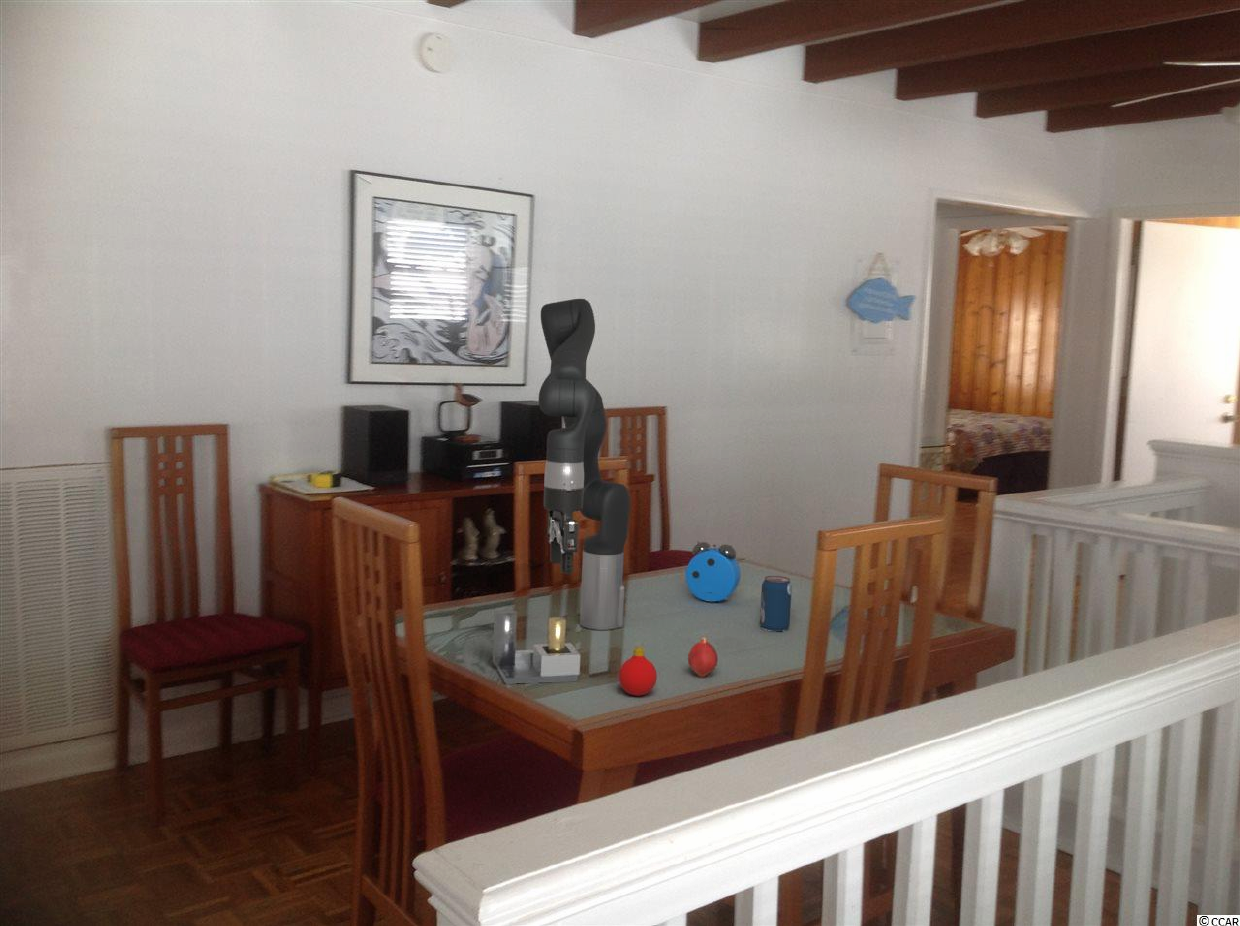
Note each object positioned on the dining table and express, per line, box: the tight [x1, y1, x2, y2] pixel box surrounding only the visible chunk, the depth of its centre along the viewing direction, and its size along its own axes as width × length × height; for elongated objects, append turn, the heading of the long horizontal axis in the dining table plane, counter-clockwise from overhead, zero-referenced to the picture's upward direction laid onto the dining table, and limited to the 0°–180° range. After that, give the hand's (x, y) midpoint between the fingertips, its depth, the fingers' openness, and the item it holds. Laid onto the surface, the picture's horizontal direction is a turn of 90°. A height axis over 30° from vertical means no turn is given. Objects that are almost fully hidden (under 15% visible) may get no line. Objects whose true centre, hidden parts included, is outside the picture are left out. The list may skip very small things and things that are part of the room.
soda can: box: [759, 575, 793, 631], centre depth 251 cm, size 7×7×12 cm
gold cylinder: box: [547, 616, 567, 654], centre depth 209 cm, size 3×3×10 cm
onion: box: [687, 637, 719, 678], centre depth 213 cm, size 6×6×8 cm
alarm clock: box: [685, 541, 741, 602], centre depth 275 cm, size 13×6×15 cm, turn 71°
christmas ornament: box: [618, 641, 658, 697], centre depth 200 cm, size 7×7×10 cm
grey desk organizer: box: [492, 609, 581, 685], centre depth 210 cm, size 15×12×11 cm
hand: (561, 568), depth 207 cm, fingers open, 8 cm apart
